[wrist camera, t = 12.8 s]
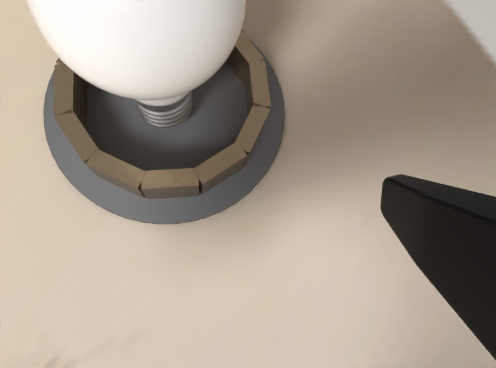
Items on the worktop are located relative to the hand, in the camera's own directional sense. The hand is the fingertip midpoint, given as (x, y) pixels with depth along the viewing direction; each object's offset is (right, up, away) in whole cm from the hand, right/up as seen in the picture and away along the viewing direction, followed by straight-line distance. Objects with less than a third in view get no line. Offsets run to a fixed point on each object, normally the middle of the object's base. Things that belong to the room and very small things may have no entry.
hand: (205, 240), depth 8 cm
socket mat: (-3, +5, +11) cm, 13 cm away
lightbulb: (-3, +5, +11) cm, 12 cm away
